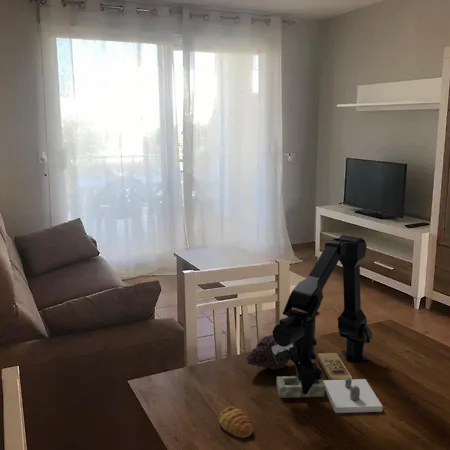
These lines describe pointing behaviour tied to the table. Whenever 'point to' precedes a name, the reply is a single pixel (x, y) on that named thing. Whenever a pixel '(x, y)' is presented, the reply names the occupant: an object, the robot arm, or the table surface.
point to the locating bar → (298, 388)
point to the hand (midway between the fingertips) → (302, 387)
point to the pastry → (236, 422)
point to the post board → (344, 395)
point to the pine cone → (265, 354)
